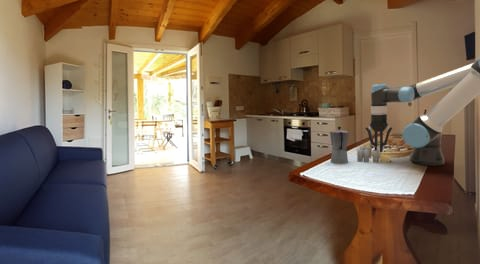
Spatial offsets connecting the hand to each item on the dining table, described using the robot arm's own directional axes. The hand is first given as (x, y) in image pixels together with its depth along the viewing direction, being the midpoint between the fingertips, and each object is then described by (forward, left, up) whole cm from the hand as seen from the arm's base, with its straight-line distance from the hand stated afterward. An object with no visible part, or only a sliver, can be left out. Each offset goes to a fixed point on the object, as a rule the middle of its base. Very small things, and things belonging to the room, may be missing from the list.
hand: (378, 158), depth 156 cm
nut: (-3, 0, -2) cm, 3 cm away
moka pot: (+18, +10, -2) cm, 21 cm away
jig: (+5, 0, -2) cm, 5 cm away
